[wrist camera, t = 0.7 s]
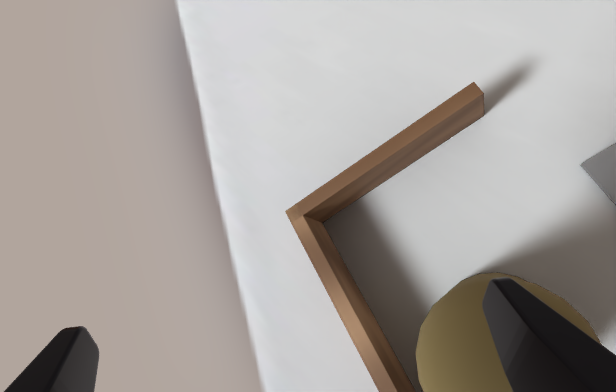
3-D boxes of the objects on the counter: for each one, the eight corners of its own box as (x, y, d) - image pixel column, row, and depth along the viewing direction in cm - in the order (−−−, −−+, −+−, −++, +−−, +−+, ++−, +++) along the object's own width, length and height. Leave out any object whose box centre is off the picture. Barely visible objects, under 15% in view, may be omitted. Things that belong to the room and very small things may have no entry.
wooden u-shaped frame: (826, 529, 15) (899, 581, 13) (527, 629, 18) (534, 690, 15) (475, 105, 23) (473, 81, 21) (306, 219, 26) (285, 211, 23)
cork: (455, 406, 21) (426, 515, 11) (421, 286, 23) (370, 287, 13) (589, 388, 19) (702, 503, 9) (540, 259, 21) (590, 234, 11)
